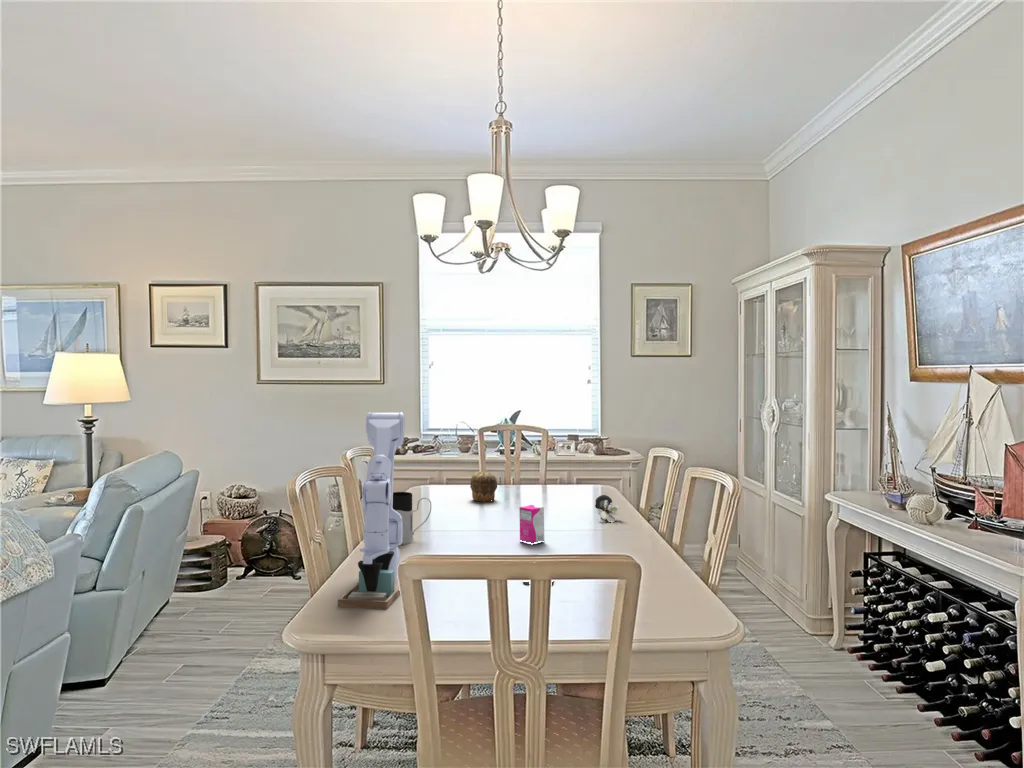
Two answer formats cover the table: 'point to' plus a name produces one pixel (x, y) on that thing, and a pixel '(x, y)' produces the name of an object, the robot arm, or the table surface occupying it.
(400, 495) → the glass holder
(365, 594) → the grey offcut
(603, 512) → the artificial flower
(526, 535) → the supplement box
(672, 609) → the table surface
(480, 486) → the brown muffin
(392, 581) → the teal board
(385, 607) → the brown shallow rectangular tray
